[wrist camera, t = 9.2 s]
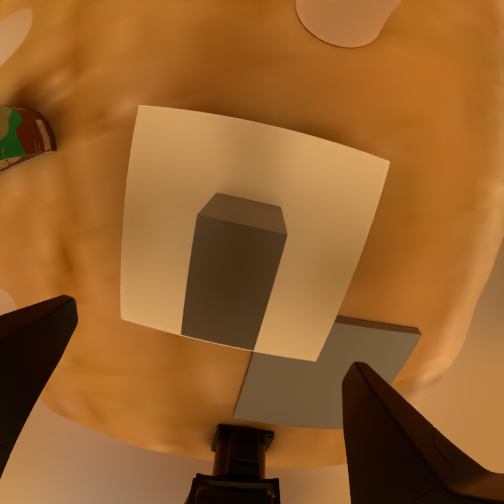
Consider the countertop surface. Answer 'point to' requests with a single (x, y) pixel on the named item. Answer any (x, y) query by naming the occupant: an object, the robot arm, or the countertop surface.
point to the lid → (242, 230)
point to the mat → (321, 375)
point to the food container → (23, 136)
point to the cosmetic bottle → (345, 19)
